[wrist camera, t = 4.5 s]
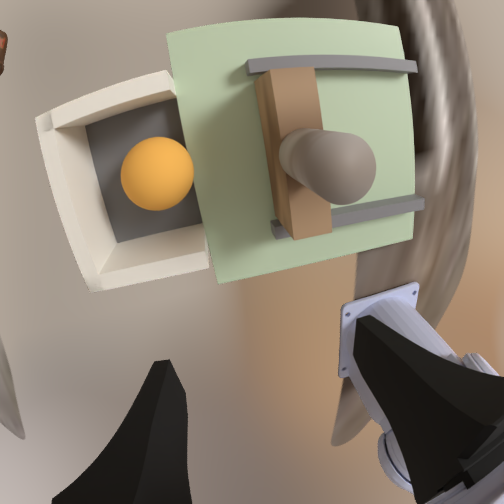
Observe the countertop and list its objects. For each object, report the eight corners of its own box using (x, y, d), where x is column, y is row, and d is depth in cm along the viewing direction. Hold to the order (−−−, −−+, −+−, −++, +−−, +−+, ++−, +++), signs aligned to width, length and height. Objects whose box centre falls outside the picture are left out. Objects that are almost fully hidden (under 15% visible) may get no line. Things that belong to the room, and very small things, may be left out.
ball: (138, 206, 17) (200, 191, 18) (124, 228, 14) (201, 210, 14) (123, 145, 16) (187, 128, 16) (103, 152, 12) (184, 129, 12)
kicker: (309, 208, 18) (376, 269, 11) (271, 215, 18) (319, 284, 11) (292, 77, 14) (362, 49, 7) (250, 81, 14) (292, 48, 7)
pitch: (403, 232, 22) (438, 256, 18) (124, 294, 20) (110, 334, 16) (388, 29, 15) (428, 17, 11) (63, 74, 13) (28, 66, 9)
